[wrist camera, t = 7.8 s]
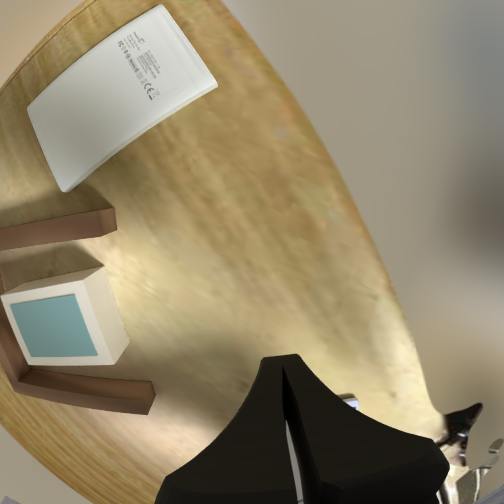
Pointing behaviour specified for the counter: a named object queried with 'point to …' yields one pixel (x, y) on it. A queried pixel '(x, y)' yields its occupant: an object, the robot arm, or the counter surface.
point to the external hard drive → (116, 95)
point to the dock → (57, 384)
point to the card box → (67, 319)
